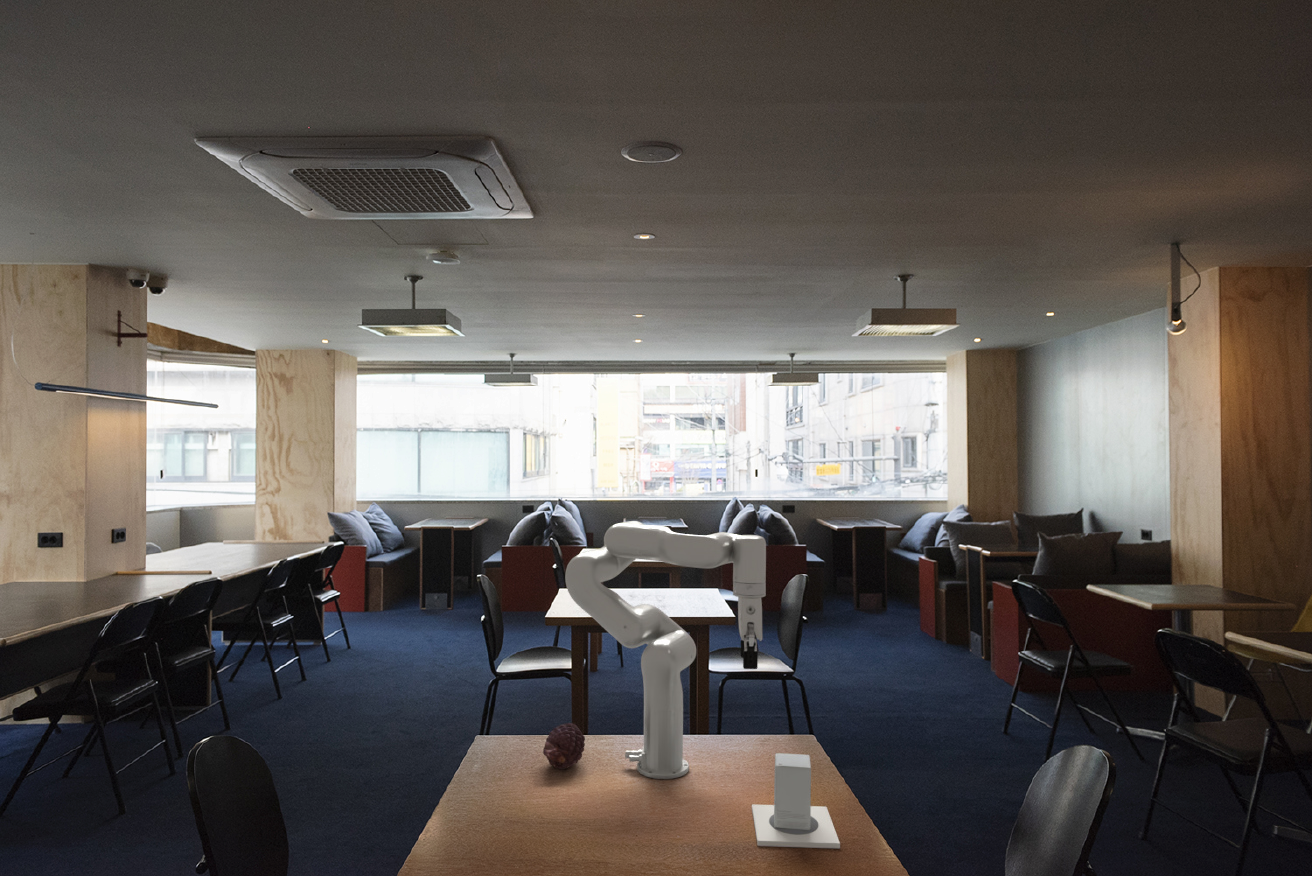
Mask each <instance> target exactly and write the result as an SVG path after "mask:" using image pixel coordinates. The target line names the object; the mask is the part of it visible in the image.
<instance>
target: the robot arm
mask: <svg viewBox="0 0 1312 876" xmlns="http://www.w3.org/2000/svg"><path fill="white" fill-rule="evenodd" d="M636 559H637V560H646V561H656V562H662V563H665V564H669V565H670V564H671V565H674V566H679V567H686V568H687V567H688V568H697V569H715V568H717V567H720V566H724V565H726V564H732V565H733V566H732V571H733V572H732V585H733V586H732V596H733V597H734V596H735V597H737V598H738V599H737V609H738V610H737V615H738V617H737V618H738V632H739V636H740V658H742V668H743V669H744V670H757V669H758V666H759V665H758V661H759V660H758V658H759V656H758V653H759V652H758V646H757V645H758V644H757V640H759V642H761V641H762V640H763V606H762V604H763V602H762V598H764V597H766V596H767V595H766V590H767V589H766V588H767V587H766V581H767V580H766V576H767V575H766V574H767V573H766V572H767V571H766V570H767V566H766V565H767V563H766V562H767V542H766V539H765V538H764V537H763V536H760V535H755V534H742V535H741V534H734V533H730V532H725V531H720V532H715V533H711V534H707V535H698V534H688V533H687V534H685V533H679V532H674V531H672V530H671V529H670V527H667V526H666V525H665V526H664V525H649V524H644V523H642V522H640V521H637V520H631V521H630V520H629V521H624V522H619V523H615V524H613V525H611V526H609V528H608V529H607V530H606V532H605V533H604V536H603V546H602V547H600V548H597V549H593V550H587V551H584V552H581V553H579V554H576V556H574V557H572V558H571V560H570V561H569V562H568V564H567V566H566V569H565V575H564V576H565V579H564V580H565V585H566V589H567V592H568V594H569V596H570V598H571V599H572V600H573V601H574V602H575V604H576V605H577V606H578V607H579V608H581V609H582V610H583V611H584V612H585V613H586V614H588V615H589V616H590V617H591V618H592V619H594V620H595V622H597V623H598V624H599V626H601V628H603V629H604V630H605V631H606V632H607V633H609V634H610V635H611V636H612V637H613V638H614V639H615V640H616V641H617V642H618V643H620V645H621V646H623V647H625V648H627V649H637V648H638V647H639V648H640V647H641V646H644V645H646V647H645V648H644V649H643V652H642V654H641V658H640V668H641V675H642V680H643V683H642V684H643V745H642V749H641V748H640V749H638V750H632V749H625V752H624V753H625V754H624V756H625V759H628V760H629V762H634V763H635V762H637V764H636V770H637V772H638V773H640V775H642V776H644V777H647V778H652V779H655V780H656V779H657V780H670V779H677V778H681V777H683V776H685V775H686V774H687V773H688V772H689V771H690V765H689V762H688V761H687V760H686V759H684V757H683V756H684V753H683V750H684V746H683V744H684V743H683V740H684V691H683V684H682V681H681V680H682V679H681V672H682V671H683V670H685V669H686V668H688V667H689V666H690V665H691V664H692V663H693V662H694V661H695V659H696V657H697V646H696V643H695V641H694V639H693V638H692V637H691V635H690V634H689V633H688V632H687V631H686V630H685V629H683V628H682V626H680V625H679V624H678V623H677V622H676V621H674V620H673V619H672V618H670V617H669V616H668V615H667V614H666V613H665V612H664V611H663V610H661V609H660V608H659V607H656V606H655V605H652V604H649V603H641V604H638V605H636V606H635V605H634V606H633V605H632V604H630V603H629V602H627V601H626V600H625V599H624V598H623V597H621V596H620V595H619V594H618V593H617V592H615V591H614V590H613V589H611V588H608V587H607V586H605V585H604V584H603V583H604V582H607V581H610V580H612V579H614V578H616V577H617V576H618V575H620V574H621V573H622V572H623V571H624V570H626V568H628V566H630V565H631V564H632V563H633V562H634V561H636Z"/></svg>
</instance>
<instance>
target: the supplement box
mask: <svg viewBox="0 0 1312 876" xmlns="http://www.w3.org/2000/svg"><path fill="white" fill-rule="evenodd" d="M774 757H775V758H774V779H773V780H774V791H773V795H774V797H773V798H774V799H773V803H774V804H773V805H774V825H775V827H777V828H787V829H799V830H810V820H811V806H812V805H811V802H812V795H811V793H812V792H811V791H812V765H811V757H810V755H809V754H800V753H799V754H797V753H782V752H781V753H779V752H778V753H777V752H776V753H775V755H774Z"/></svg>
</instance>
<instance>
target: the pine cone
mask: <svg viewBox="0 0 1312 876" xmlns="http://www.w3.org/2000/svg"><path fill="white" fill-rule="evenodd" d="M585 740H586V737H585V735H584V734H583V733H582V731H581V730H580V728H579V727H578V725H576V724H574V723H573V722H569V723H564V724H559V725H557V726H556V727H553V729H552V730H551V731H550V732H549V734H548V737H547V738H546V739H545V742H544V747H543V749H542V750H543V751H542V753H543V755H544V756H545V757H546V758H547V760H548V763H549V764H550V766H554V768H555V769H557V768H558V769H559V770H562V769H563V770H565V769H566V770H567V769H568V768H569V767H573V766H574V765H576V764H578V762H579V761H580V760H581V759H582V757H583V752H584V751H585V747H586V743H585Z"/></svg>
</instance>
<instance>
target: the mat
mask: <svg viewBox="0 0 1312 876" xmlns="http://www.w3.org/2000/svg"><path fill="white" fill-rule="evenodd" d="M751 814H752V819H753V827H754V831H755V838H756V844H757V846H758V847H780V848H781V847H783V848H787V847H788V848H809V849H810V848H811V849H812V848H817V849H841V842H840V840H839V837H838V834H837V832H836V829H835V827H834V824H833V820H832V818H831V815H830V813H829V810H828V807H827V806H818V805H817V806H815V805H811V820H810V830H799V829H787V828H777V827H775V825H774V804H756V803H755V804H751Z"/></svg>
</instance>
